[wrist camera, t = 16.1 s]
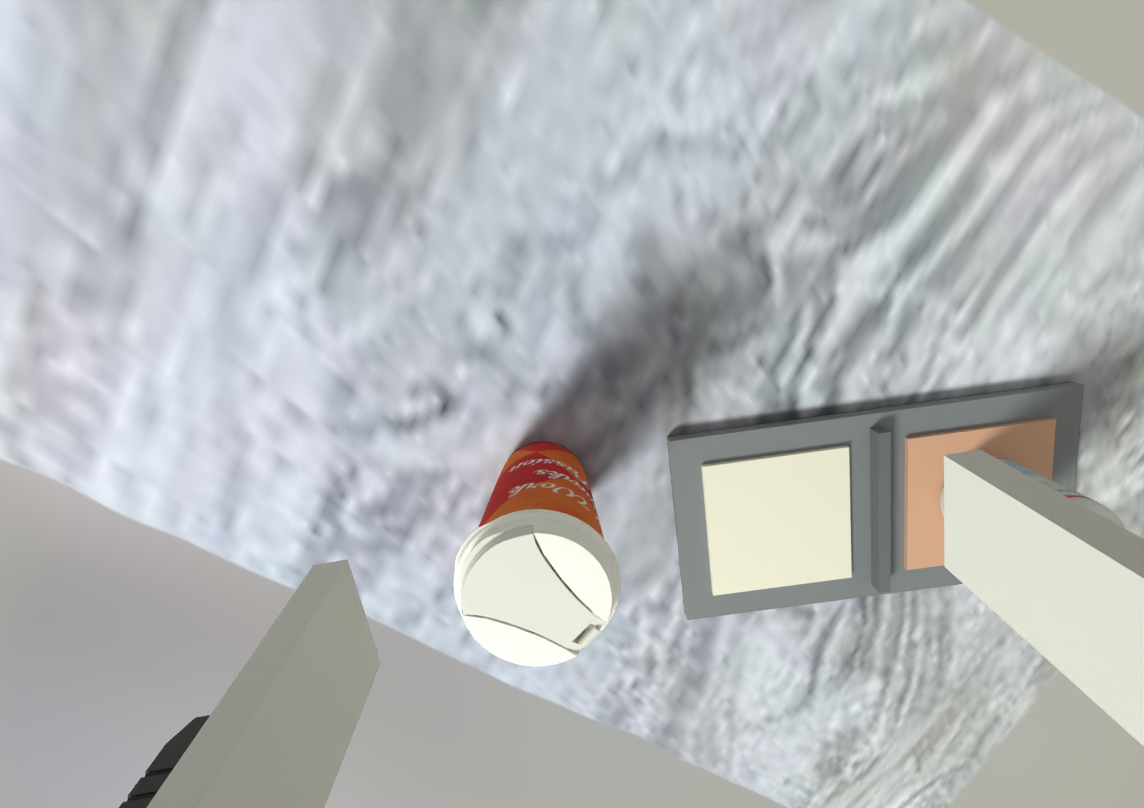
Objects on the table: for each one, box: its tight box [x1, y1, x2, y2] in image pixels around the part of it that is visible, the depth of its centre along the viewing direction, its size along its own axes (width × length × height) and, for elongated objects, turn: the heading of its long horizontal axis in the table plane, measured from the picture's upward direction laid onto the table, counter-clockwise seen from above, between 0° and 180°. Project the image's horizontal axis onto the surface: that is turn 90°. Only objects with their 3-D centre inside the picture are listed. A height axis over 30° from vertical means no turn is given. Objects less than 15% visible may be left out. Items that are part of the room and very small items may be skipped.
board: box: [667, 382, 1083, 620], centre depth 44 cm, size 14×28×2 cm, turn 98°
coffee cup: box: [454, 442, 621, 666], centre depth 37 cm, size 8×8×15 cm
